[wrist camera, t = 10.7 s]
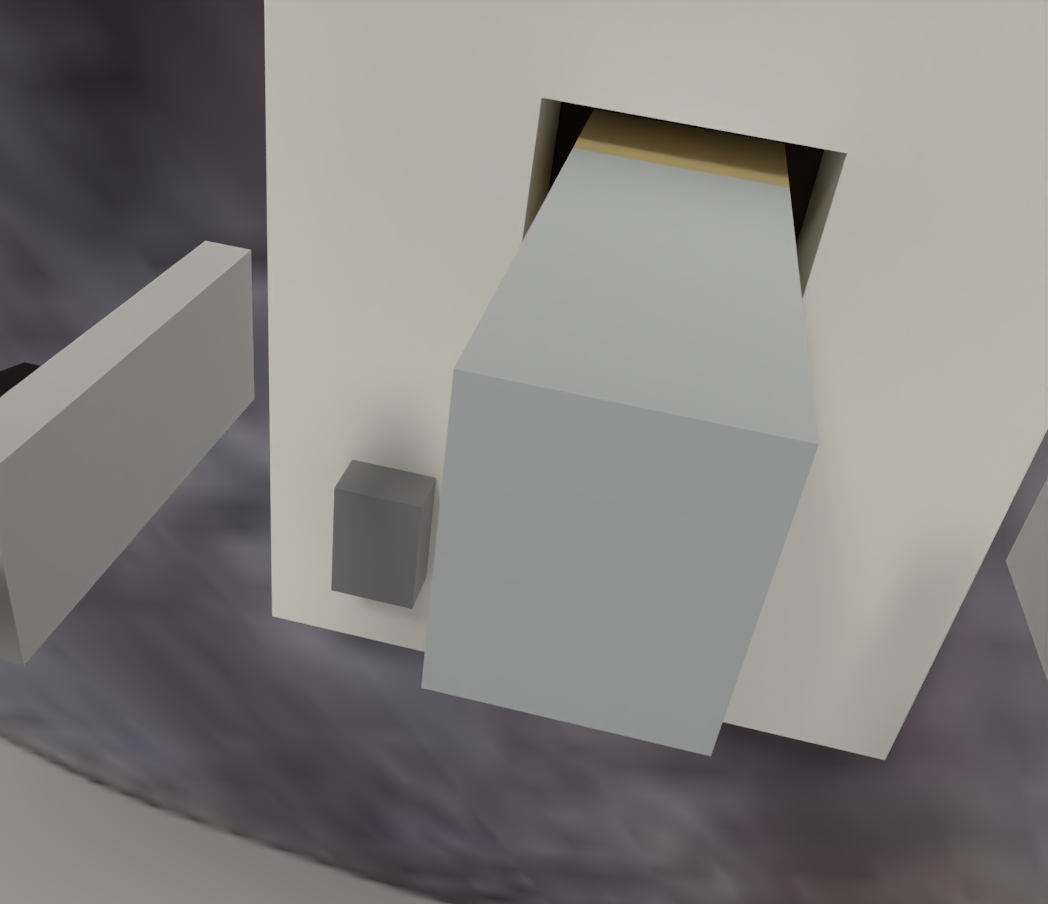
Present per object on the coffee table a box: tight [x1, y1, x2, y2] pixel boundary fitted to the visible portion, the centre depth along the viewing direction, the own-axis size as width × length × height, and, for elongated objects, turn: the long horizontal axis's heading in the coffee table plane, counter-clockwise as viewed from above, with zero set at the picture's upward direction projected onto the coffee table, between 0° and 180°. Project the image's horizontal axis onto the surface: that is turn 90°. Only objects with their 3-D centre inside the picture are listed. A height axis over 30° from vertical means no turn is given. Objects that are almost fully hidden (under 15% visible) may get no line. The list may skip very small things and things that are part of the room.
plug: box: [421, 109, 819, 756], centre depth 17 cm, size 5×4×12 cm
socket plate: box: [264, 0, 1048, 760], centre depth 20 cm, size 22×16×4 cm
